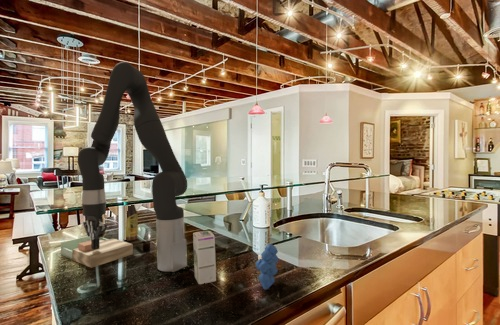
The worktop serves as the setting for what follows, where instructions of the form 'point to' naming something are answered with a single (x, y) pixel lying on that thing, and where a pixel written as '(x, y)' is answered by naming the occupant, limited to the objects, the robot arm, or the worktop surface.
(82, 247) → the terracotta tile
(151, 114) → the robot arm
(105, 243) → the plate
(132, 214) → the sauce bottle
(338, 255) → the worktop surface
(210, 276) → the syrup box
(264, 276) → the grapes
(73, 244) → the box
